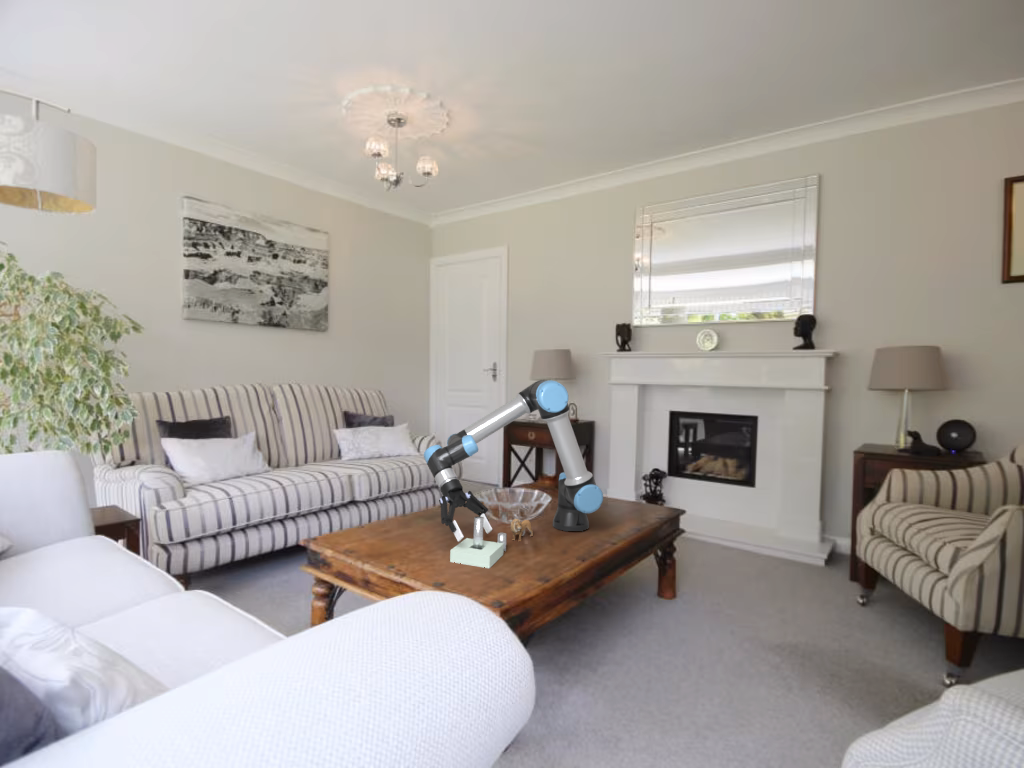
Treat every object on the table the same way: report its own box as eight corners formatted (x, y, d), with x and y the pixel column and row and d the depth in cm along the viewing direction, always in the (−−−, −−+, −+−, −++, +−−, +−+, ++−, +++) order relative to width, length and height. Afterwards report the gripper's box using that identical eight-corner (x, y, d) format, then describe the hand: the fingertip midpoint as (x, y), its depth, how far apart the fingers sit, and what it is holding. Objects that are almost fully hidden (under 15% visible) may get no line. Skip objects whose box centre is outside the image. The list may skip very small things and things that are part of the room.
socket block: (503, 554, 186) (503, 543, 186) (489, 568, 173) (489, 556, 173) (466, 549, 191) (466, 537, 191) (450, 561, 177) (450, 550, 177)
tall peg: (483, 557, 183) (485, 517, 183) (479, 560, 180) (481, 519, 180) (474, 556, 184) (476, 515, 184) (471, 559, 181) (472, 518, 181)
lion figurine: (519, 545, 197) (520, 521, 197) (506, 542, 200) (507, 519, 200) (535, 535, 210) (536, 512, 210) (523, 532, 213) (524, 510, 213)
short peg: (507, 549, 192) (507, 533, 192) (504, 552, 189) (505, 535, 189) (498, 548, 193) (499, 532, 193) (495, 551, 190) (496, 534, 190)
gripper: (469, 485, 203) (495, 533, 193) (416, 494, 185) (442, 548, 175) (479, 473, 199) (506, 522, 189) (426, 482, 181) (453, 536, 171)
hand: (475, 535), depth 182 cm, fingers open, 13 cm apart
